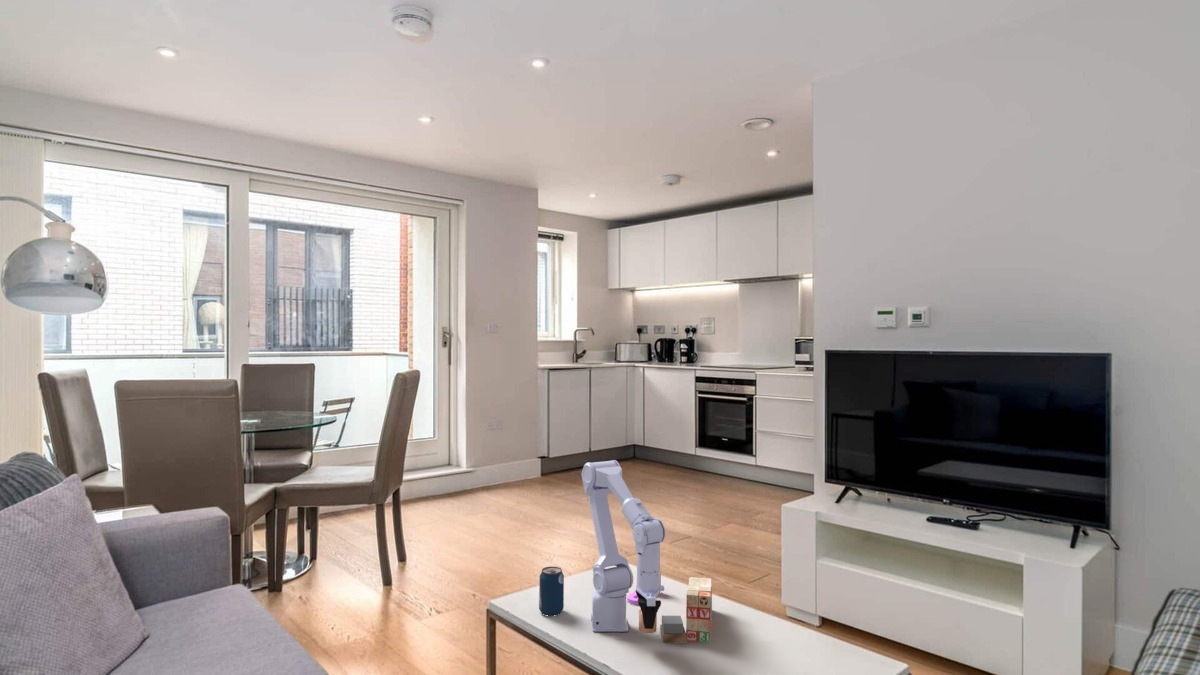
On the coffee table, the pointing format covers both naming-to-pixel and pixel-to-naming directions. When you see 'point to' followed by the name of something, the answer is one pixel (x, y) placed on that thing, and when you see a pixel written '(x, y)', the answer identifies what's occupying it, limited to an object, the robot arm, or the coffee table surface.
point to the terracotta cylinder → (641, 625)
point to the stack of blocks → (699, 610)
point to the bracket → (635, 596)
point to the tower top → (672, 624)
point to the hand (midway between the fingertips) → (647, 623)
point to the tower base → (673, 637)
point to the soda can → (551, 591)
